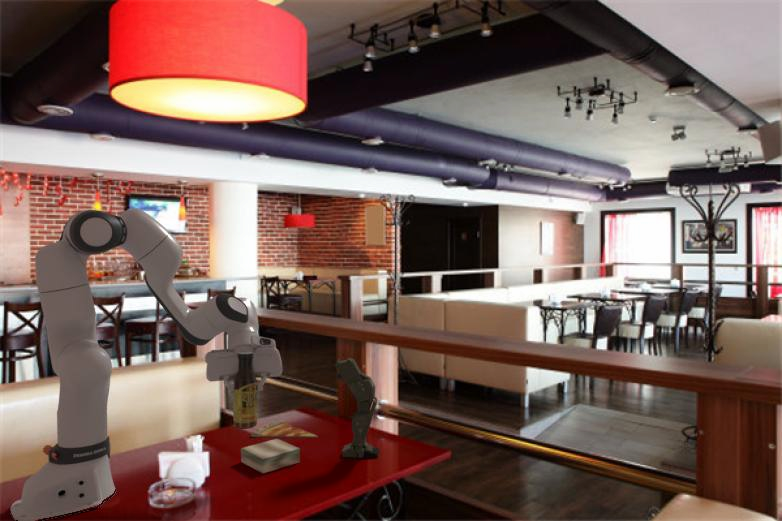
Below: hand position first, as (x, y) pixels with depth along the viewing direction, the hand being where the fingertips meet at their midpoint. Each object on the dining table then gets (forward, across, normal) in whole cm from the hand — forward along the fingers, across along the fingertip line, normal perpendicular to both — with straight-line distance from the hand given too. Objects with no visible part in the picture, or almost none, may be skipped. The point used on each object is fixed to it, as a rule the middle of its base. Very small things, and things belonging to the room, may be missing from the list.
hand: (245, 390), depth 155 cm
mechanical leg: (+11, +32, +23) cm, 41 cm away
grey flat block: (+9, +7, +24) cm, 27 cm away
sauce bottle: (+7, 0, +8) cm, 10 cm away
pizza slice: (-7, +11, +42) cm, 44 cm away
